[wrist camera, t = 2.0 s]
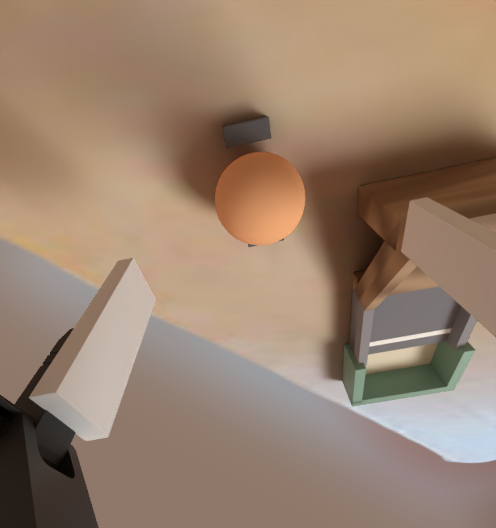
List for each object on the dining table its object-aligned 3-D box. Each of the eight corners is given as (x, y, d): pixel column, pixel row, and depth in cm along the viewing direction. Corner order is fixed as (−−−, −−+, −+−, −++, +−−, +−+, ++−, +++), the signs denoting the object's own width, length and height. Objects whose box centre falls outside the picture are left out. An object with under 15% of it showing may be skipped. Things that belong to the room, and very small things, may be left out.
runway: (352, 287, 26) (364, 306, 24) (471, 265, 26) (495, 282, 23) (348, 346, 32) (358, 366, 30) (446, 329, 31) (463, 349, 29)
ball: (206, 154, 18) (199, 179, 13) (290, 135, 18) (314, 153, 13) (226, 228, 21) (226, 270, 16) (297, 213, 21) (318, 252, 16)
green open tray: (344, 344, 32) (355, 370, 29) (452, 325, 31) (475, 350, 28) (342, 381, 37) (352, 406, 34) (435, 365, 36) (453, 390, 33)
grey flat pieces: (222, 125, 17) (221, 128, 16) (266, 115, 17) (268, 117, 16) (247, 240, 22) (248, 247, 21) (281, 233, 22) (284, 240, 21)
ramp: (358, 183, 20) (424, 230, 13) (517, 149, 19) (669, 182, 13) (351, 295, 27) (392, 363, 20) (468, 273, 26) (550, 336, 20)
